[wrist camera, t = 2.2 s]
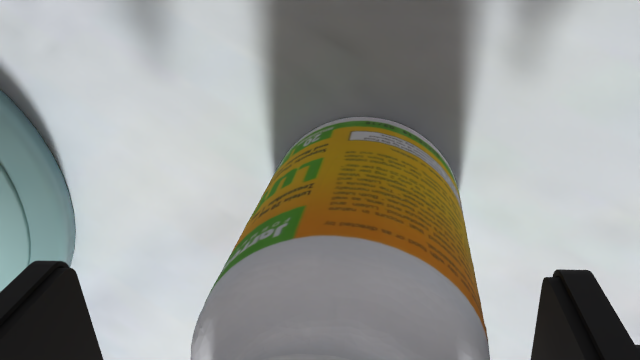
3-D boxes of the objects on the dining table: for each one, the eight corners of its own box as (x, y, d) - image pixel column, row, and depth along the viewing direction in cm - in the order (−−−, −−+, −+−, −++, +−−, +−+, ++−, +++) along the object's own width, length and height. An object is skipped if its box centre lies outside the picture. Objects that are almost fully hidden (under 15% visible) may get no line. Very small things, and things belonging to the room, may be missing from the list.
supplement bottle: (320, 77, 14) (182, 317, 5) (496, 166, 14) (631, 525, 6) (249, 228, 16) (72, 561, 8) (401, 301, 17) (394, 698, 8)
